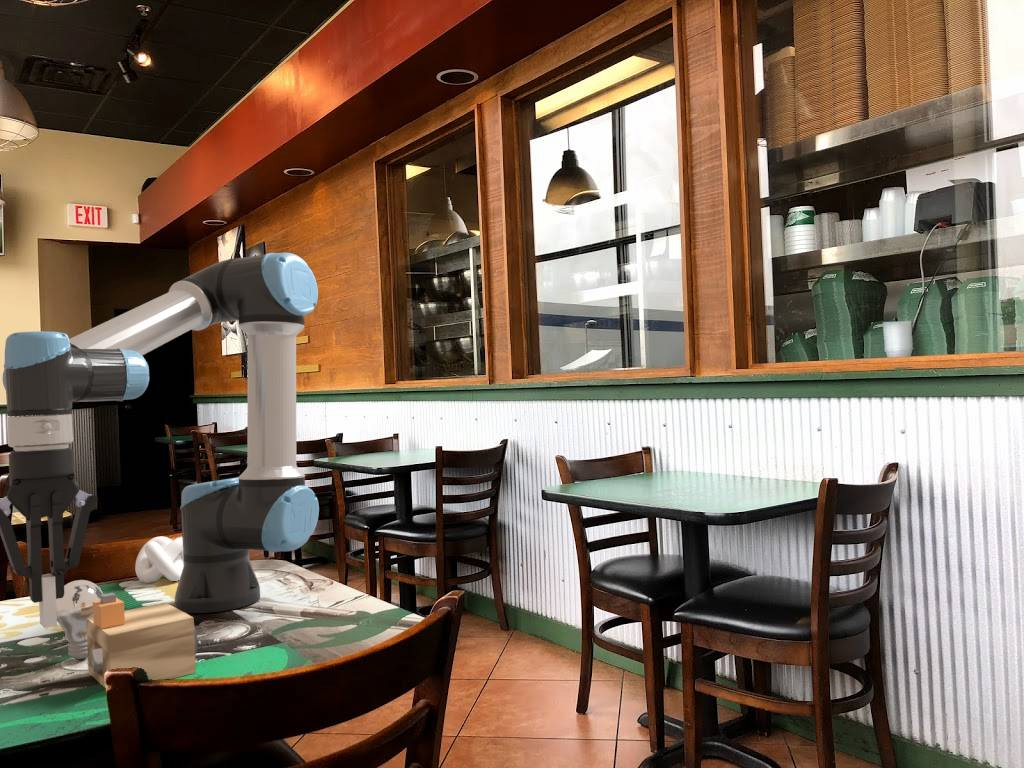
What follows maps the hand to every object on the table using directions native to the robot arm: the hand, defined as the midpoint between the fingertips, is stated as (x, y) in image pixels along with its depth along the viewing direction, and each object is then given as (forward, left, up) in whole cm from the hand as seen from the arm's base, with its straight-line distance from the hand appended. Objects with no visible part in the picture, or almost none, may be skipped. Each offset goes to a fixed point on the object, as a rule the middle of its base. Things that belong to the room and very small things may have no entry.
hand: (48, 624), depth 108 cm
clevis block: (0, +11, -9) cm, 15 cm away
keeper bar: (0, +7, -2) cm, 8 cm away
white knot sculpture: (-59, +33, -10) cm, 68 cm away
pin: (0, +11, -9) cm, 15 cm away
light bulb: (-13, +7, -10) cm, 18 cm away
